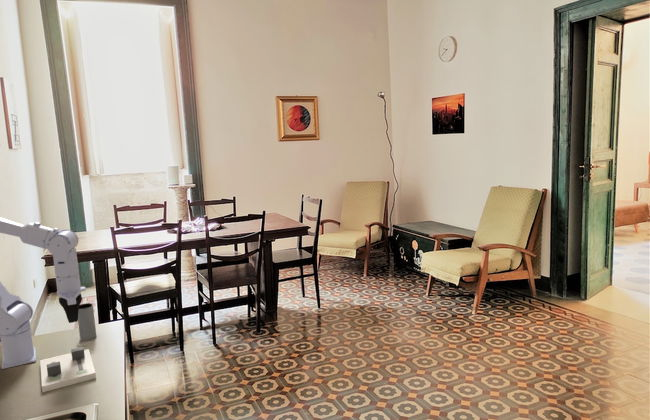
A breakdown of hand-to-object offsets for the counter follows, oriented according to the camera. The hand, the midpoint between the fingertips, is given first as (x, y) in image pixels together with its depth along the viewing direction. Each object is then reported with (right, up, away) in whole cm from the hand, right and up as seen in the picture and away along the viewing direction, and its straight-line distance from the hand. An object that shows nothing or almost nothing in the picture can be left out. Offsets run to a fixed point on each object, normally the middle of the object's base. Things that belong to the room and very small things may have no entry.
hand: (73, 321), depth 135 cm
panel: (+2, -12, -7) cm, 14 cm away
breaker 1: (+1, -11, -11) cm, 15 cm away
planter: (-2, -8, +14) cm, 16 cm away
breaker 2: (+3, -9, -3) cm, 10 cm away
